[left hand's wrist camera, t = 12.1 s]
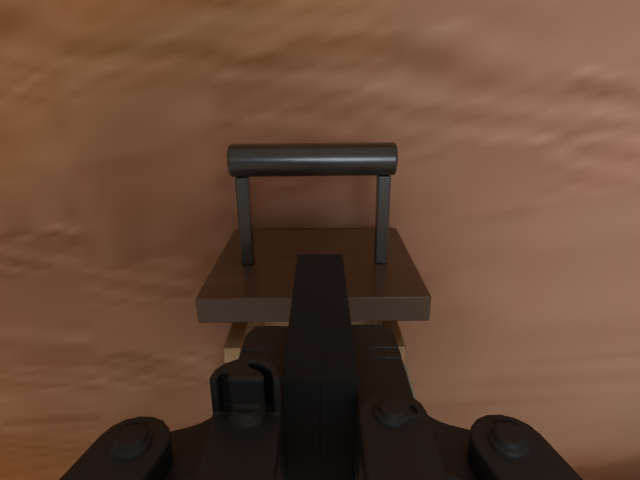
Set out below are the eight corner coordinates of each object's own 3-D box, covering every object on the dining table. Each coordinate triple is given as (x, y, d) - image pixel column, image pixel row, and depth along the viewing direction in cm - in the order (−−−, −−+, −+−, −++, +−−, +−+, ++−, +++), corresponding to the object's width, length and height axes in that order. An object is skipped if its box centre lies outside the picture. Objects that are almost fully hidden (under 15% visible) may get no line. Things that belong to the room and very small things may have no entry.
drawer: (226, 132, 25) (178, 158, 17) (401, 129, 25) (443, 155, 17) (251, 440, 33) (227, 567, 24) (385, 439, 33) (408, 566, 24)
